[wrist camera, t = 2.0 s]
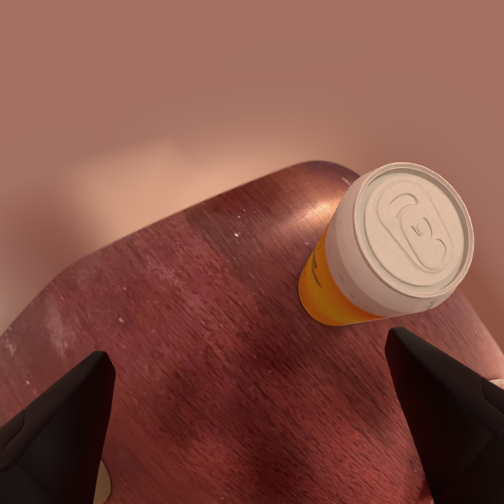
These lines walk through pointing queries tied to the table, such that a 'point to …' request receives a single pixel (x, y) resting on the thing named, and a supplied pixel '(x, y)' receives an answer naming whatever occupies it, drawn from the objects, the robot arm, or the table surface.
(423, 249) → the beer can
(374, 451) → the table surface
